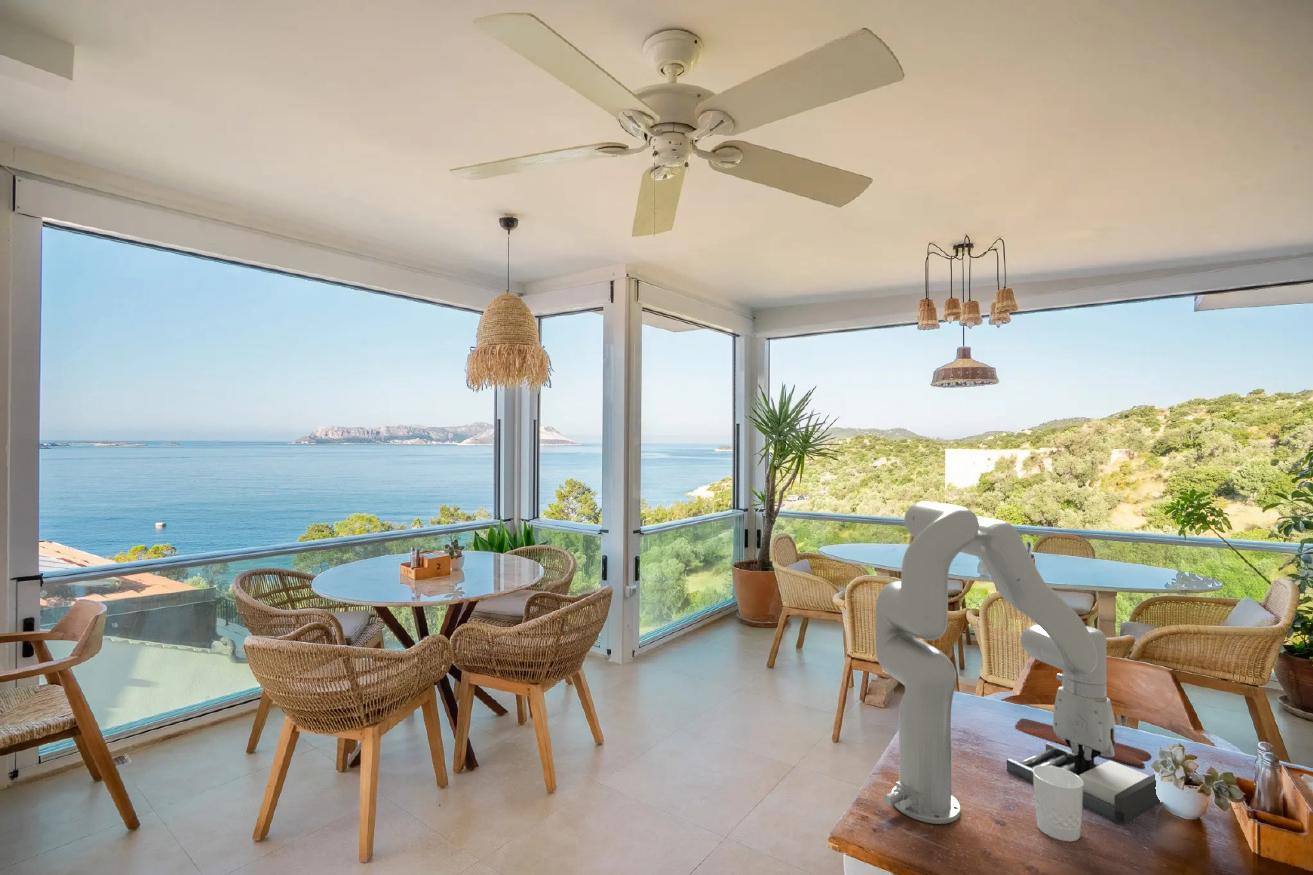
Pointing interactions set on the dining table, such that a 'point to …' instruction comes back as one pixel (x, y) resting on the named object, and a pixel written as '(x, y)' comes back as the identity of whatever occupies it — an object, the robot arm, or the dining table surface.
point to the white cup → (1058, 802)
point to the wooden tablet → (1121, 751)
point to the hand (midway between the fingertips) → (1084, 774)
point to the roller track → (1126, 801)
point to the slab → (1110, 780)
